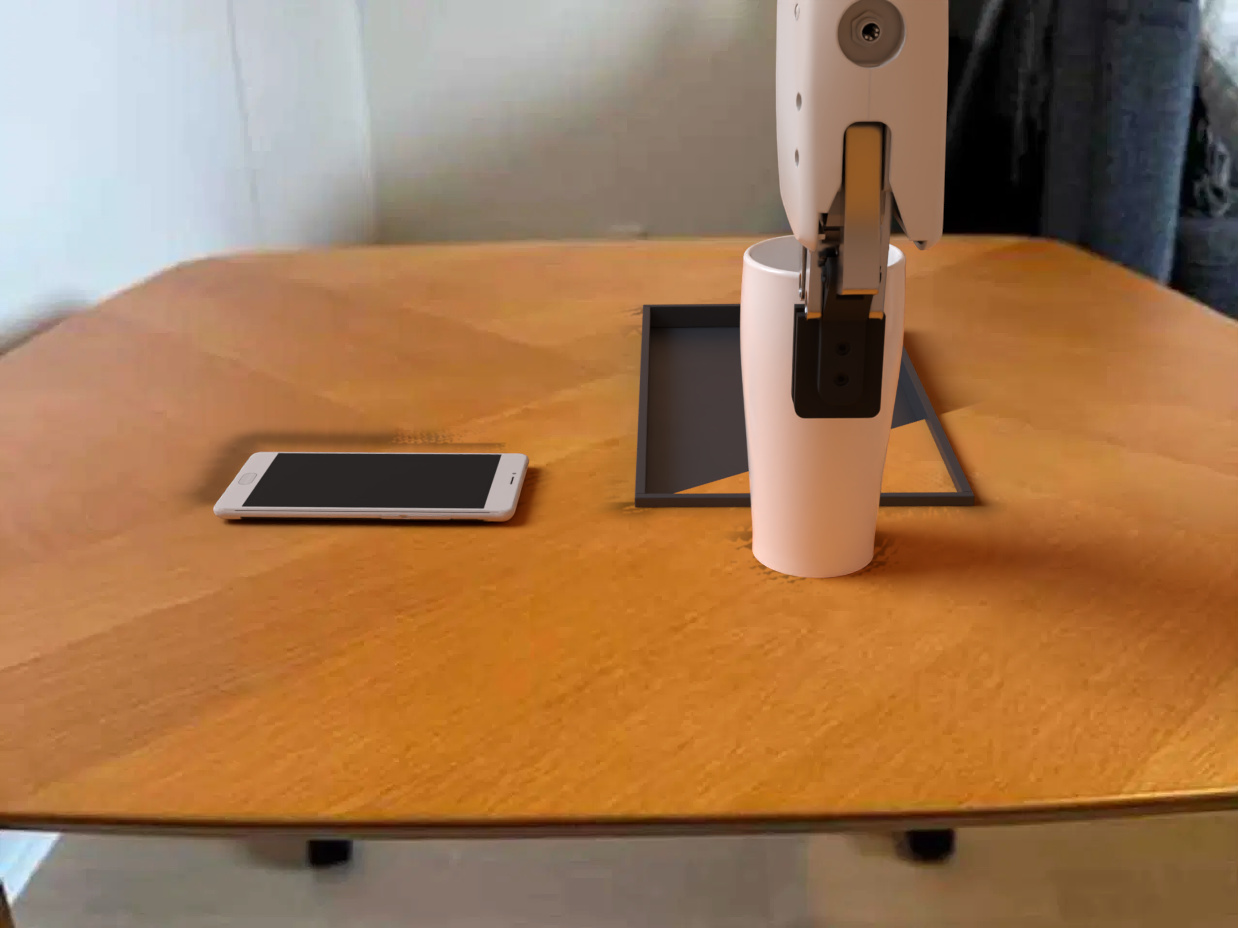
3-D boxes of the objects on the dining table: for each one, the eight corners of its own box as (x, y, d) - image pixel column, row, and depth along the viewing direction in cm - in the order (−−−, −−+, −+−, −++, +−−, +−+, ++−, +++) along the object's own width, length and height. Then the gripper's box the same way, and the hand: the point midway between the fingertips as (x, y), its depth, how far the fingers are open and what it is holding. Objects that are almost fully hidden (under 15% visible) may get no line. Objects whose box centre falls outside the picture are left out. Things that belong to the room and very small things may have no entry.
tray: (971, 534, 70) (974, 495, 69) (635, 535, 70) (634, 497, 69) (882, 330, 98) (883, 302, 97) (643, 332, 99) (642, 304, 98)
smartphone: (252, 450, 79) (530, 451, 78) (254, 461, 79) (530, 463, 78) (209, 509, 72) (513, 512, 71) (210, 521, 72) (513, 524, 71)
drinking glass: (740, 542, 69) (746, 230, 63) (885, 549, 68) (905, 233, 62) (730, 611, 63) (735, 273, 57) (890, 620, 62) (912, 277, 56)
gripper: (1025, -100, 41) (973, 491, 49) (933, -116, 55) (903, 347, 62) (759, -96, 42) (747, 492, 49) (733, -113, 55) (726, 348, 63)
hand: (834, 409), depth 56 cm, fingers closed
